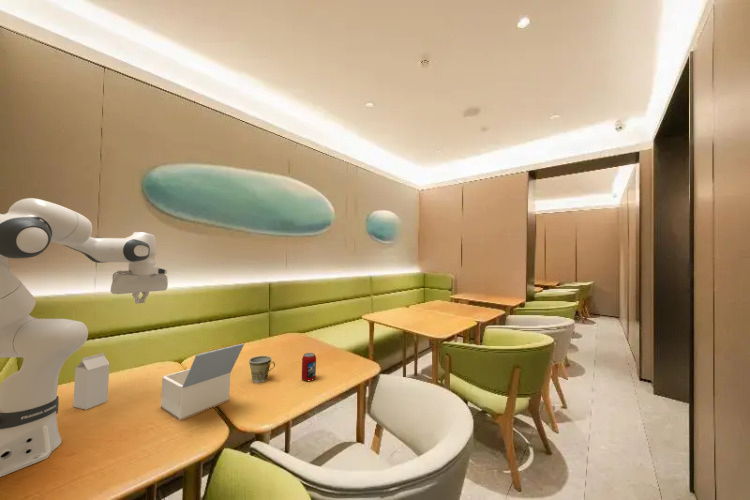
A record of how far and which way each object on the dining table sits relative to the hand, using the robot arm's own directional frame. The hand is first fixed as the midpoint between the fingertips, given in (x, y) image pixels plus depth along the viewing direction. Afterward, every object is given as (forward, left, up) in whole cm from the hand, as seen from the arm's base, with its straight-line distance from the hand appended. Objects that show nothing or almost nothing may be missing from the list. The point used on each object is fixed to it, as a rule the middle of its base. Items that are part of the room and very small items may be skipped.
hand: (140, 303), depth 120 cm
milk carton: (-10, +9, -39) cm, 41 cm away
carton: (+4, -29, -39) cm, 49 cm away
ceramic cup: (+32, -38, -39) cm, 63 cm away
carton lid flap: (+1, -41, -20) cm, 46 cm away
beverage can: (+41, -58, -39) cm, 81 cm away
